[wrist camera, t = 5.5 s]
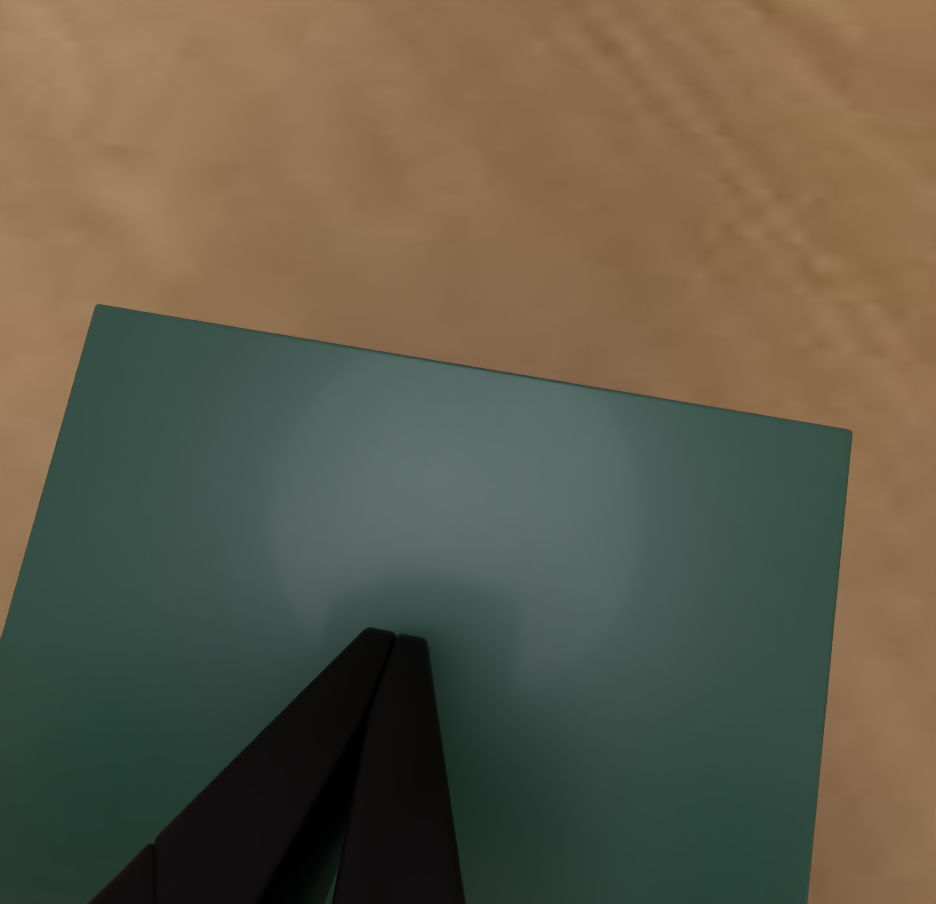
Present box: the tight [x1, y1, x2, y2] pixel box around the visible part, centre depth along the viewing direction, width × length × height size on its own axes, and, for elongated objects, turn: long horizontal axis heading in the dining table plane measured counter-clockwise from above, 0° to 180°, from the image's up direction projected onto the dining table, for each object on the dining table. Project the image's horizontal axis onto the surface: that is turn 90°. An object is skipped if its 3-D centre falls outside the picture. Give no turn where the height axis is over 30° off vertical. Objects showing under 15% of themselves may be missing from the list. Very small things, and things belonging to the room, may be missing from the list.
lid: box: [0, 304, 852, 904], centre depth 9 cm, size 15×13×1 cm
